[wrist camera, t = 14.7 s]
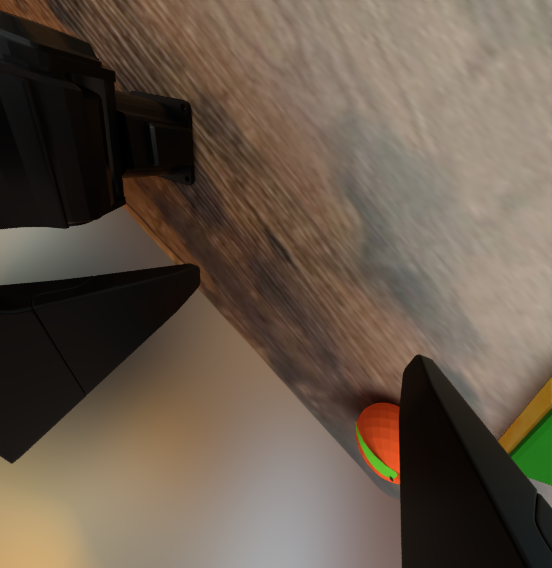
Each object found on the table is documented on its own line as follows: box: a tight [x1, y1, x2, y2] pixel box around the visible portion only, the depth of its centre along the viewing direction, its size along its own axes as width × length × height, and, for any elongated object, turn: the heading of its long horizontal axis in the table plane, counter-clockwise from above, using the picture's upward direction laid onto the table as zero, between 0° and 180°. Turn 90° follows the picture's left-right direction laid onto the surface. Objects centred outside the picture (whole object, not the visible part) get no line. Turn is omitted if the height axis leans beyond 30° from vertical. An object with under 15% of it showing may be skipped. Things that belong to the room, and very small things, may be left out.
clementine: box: [355, 403, 400, 484], centre depth 23 cm, size 8×7×7 cm
